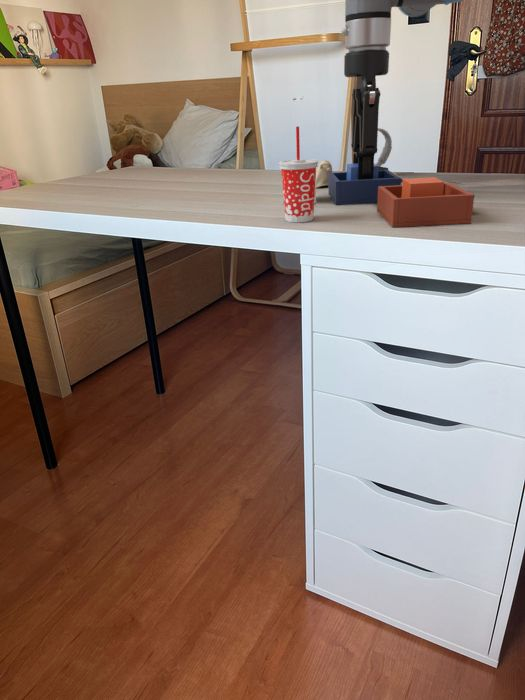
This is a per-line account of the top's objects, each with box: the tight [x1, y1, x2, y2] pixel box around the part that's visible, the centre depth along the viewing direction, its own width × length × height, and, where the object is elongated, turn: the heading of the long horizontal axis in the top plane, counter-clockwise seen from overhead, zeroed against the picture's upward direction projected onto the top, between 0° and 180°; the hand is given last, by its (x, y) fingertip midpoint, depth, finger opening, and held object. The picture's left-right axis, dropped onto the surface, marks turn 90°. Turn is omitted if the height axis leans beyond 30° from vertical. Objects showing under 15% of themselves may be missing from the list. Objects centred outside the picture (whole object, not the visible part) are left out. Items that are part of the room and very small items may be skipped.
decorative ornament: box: [316, 159, 333, 189], centre depth 113 cm, size 4×8×5 cm, turn 175°
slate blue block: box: [346, 163, 378, 180], centre depth 99 cm, size 5×5×5 cm
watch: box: [375, 127, 393, 170], centre depth 113 cm, size 6×8×11 cm
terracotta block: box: [401, 176, 445, 198], centre depth 82 cm, size 5×5×5 cm
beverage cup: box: [278, 126, 319, 223], centre depth 83 cm, size 6×6×14 cm
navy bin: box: [327, 169, 402, 206], centre depth 99 cm, size 12×12×4 cm
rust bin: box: [376, 182, 475, 228], centre depth 82 cm, size 12×12×4 cm
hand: (362, 190), depth 100 cm, fingers closed on slate blue block, 5 cm apart
